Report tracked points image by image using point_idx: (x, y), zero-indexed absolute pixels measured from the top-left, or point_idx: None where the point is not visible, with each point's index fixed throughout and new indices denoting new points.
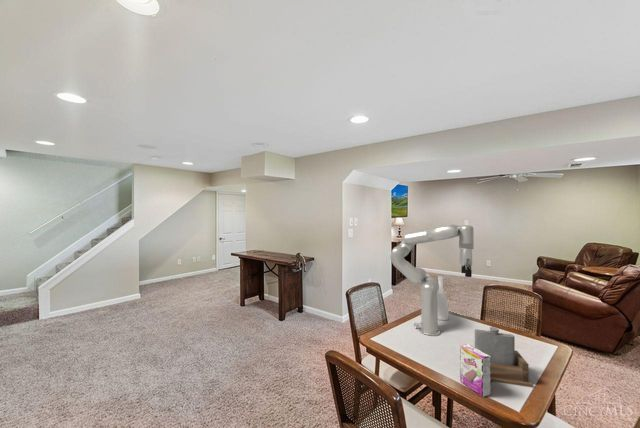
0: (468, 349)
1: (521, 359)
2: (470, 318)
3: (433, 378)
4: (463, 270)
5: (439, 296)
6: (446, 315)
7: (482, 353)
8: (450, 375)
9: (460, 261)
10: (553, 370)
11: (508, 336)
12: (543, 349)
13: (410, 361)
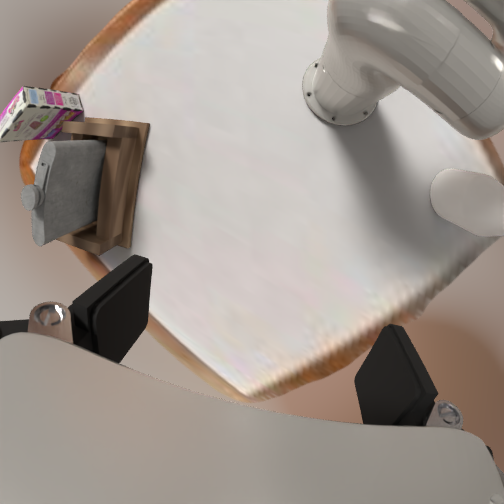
0: (11, 101)
1: (65, 237)
2: (430, 295)
3: (90, 46)
4: (386, 367)
5: (491, 195)
6: (438, 206)
7: (2, 128)
8: (96, 78)
9: (379, 499)
10: None
11: (32, 226)
12: (226, 361)
13: (149, 4)
